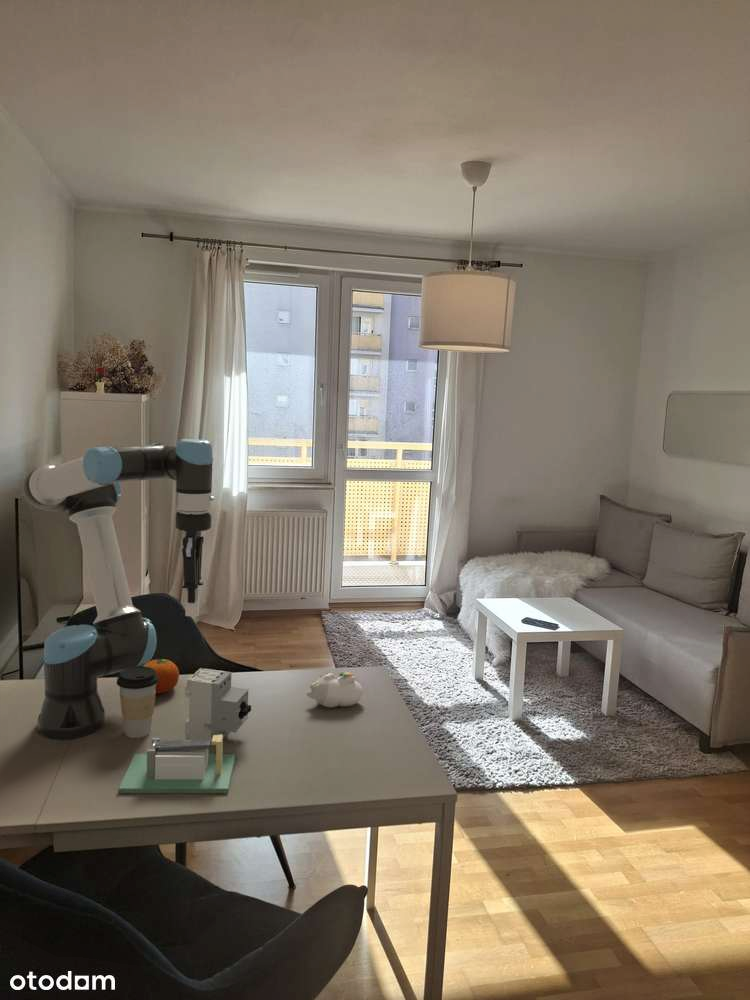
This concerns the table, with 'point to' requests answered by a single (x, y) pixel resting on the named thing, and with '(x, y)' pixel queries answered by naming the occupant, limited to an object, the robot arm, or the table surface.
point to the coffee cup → (137, 699)
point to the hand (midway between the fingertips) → (192, 615)
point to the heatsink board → (177, 785)
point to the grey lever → (181, 744)
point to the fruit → (164, 674)
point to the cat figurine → (336, 690)
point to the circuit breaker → (214, 705)
